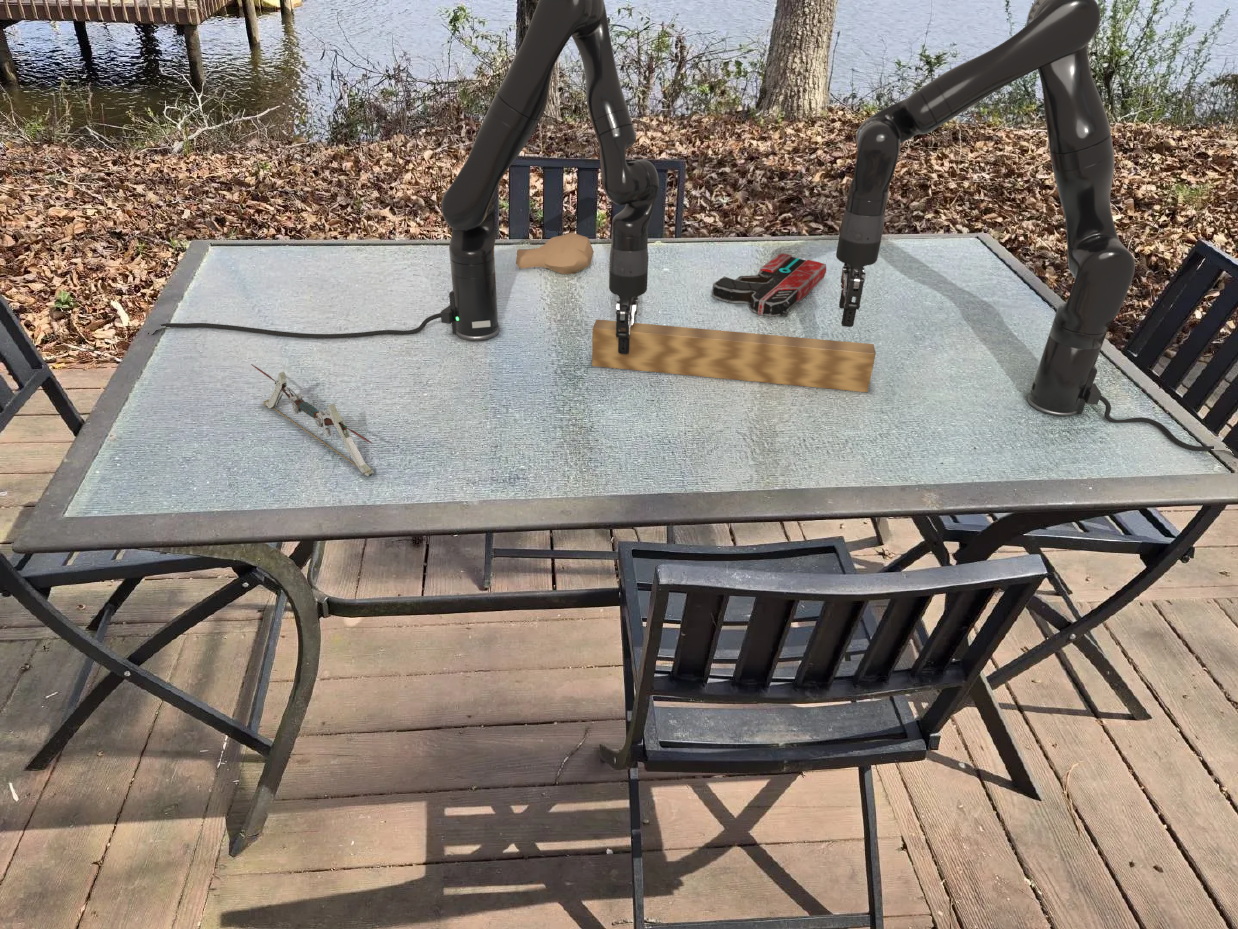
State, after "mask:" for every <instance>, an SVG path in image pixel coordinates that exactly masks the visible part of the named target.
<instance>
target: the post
mask: <svg viewBox="0 0 1238 929" xmlns="http://www.w3.org/2000/svg"><path fill="white" fill-rule="evenodd" d="M621 331H626V328H621ZM591 333H592V335H591V336H592V339H591V340H592V342H591V343H592V344H591V346H592V348H591V349H592V350H591V353H592V354H591V356H592V357H591V366H592V367H599V368H609V369H618V370H629V371H631V370H632V371H639V372H651V373H661V374H670V375H682V376H693V377H702V378H703V377H704V378H712V379H723V380H724V379H725V380H735V381H743V382H744V381H745V382H755V383H767V384H774V385H787V386H796V387H808V388H818V389H828V390H839V391H849V392H859V393H860V392H861V393H868V392H869V389H870V388H869V387H870V383H871V378H872V375H873V374H872V373H873V368H874V363H875V359H876V356H877V355H876V348H875V344H874V343H865V342H856V341H855V342H854V341H843V340H833V339H832V340H831V339H822V338H821V339H819V338H811V337H810V338H808V337H800V336H799V337H798V336H787V335H778V334H777V335H775V334H763V333H755V332H753V333H752V332H742V331H733V330H732V331H730V330H720V329H709V328H698V327H687V326H686V327H685V326H675V325H663V324H654V323H653V324H652V323H651V324H650V323H644V322H643V323H642V322H635V323H634V325H633V326H631V332H630V333H631V336H630V346H629V353H628V354H620V353H619V352H618V338H617V337H616V320H608V319H598V318H597V319H595V322H594V324H593V326H592V332H591Z"/></svg>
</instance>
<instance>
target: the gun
mask: <svg viewBox="0 0 1238 929" xmlns="http://www.w3.org/2000/svg"><path fill="white" fill-rule="evenodd" d="M826 273H827V264H826V263H823V262H820V261H816V260H812V259H802V258H799V257H795V256H793V255H792V254H791V253H784V252H780V253H778V254H777V255H775V256H774V257H773V258H771V259H770V260H768V261H767V262H766V263H765V264H763V265H762V266H761V267H760V269H759V271H758V273H757V274H756V275H753V274H752V275H751V274H750V275H740V276H738V277H737V278H735V279H734V278H731V277H727V276H722V277H720V279H717V281H715V282H713V283H712V291H711V297H713V298H714V299H716V300H719V301H723V302H727V303H730V304H750V305H749V308H750V310H751V312H753V313H755V314H757V315H758V316H760V317H761V316H765V317H770V318H771V317H777V316H780V317H784V318H787V317H788V315H789V311H788V310H790V309H791V308H792V307H793V306H794V305H795V304H798V303H799V302H801V301H802V300H803V299H804V298H805V297H807V296H808V295H809V294H810V293H811V292H812V291H813V290H814V289H815V287H817V285H818V284H820V283H821V282H822V280H823V279H824V278H825V276H826Z"/></svg>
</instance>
